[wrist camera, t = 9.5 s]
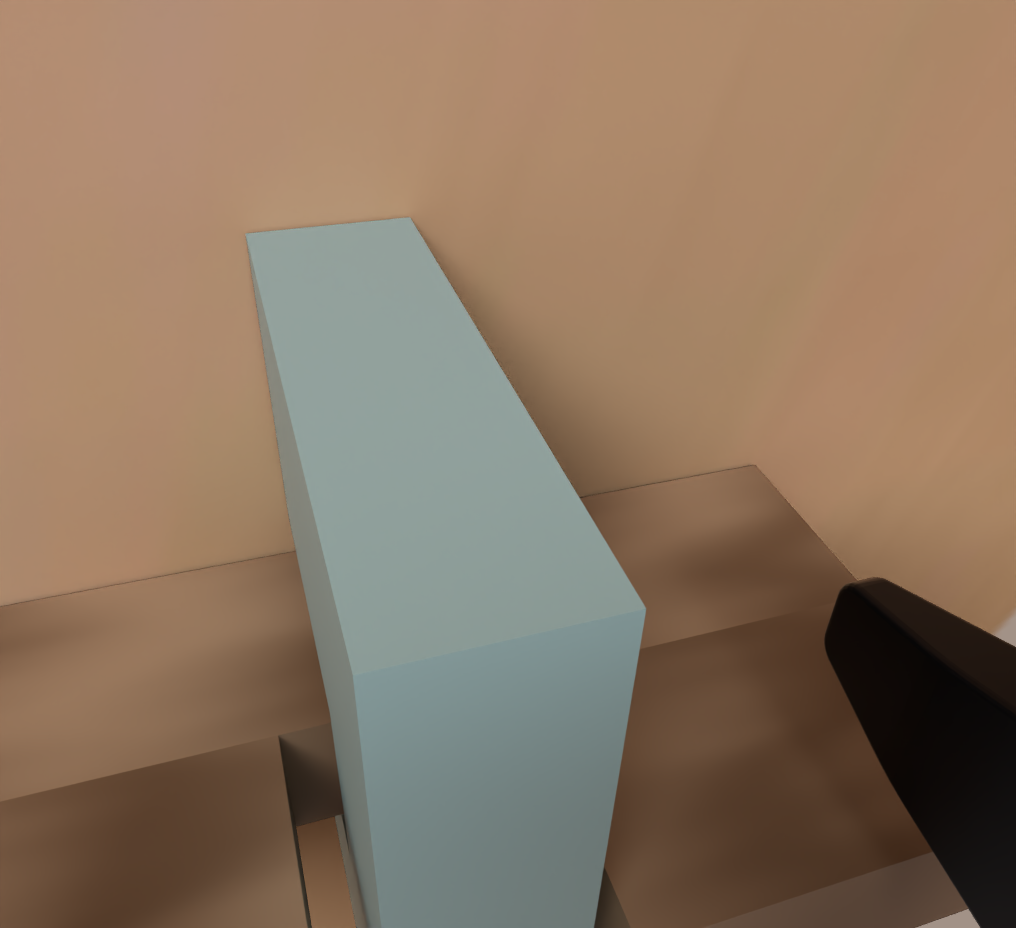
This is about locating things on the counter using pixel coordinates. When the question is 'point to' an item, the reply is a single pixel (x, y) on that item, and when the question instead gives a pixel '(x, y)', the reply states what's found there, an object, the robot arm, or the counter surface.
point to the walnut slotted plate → (313, 767)
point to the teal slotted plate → (442, 592)
